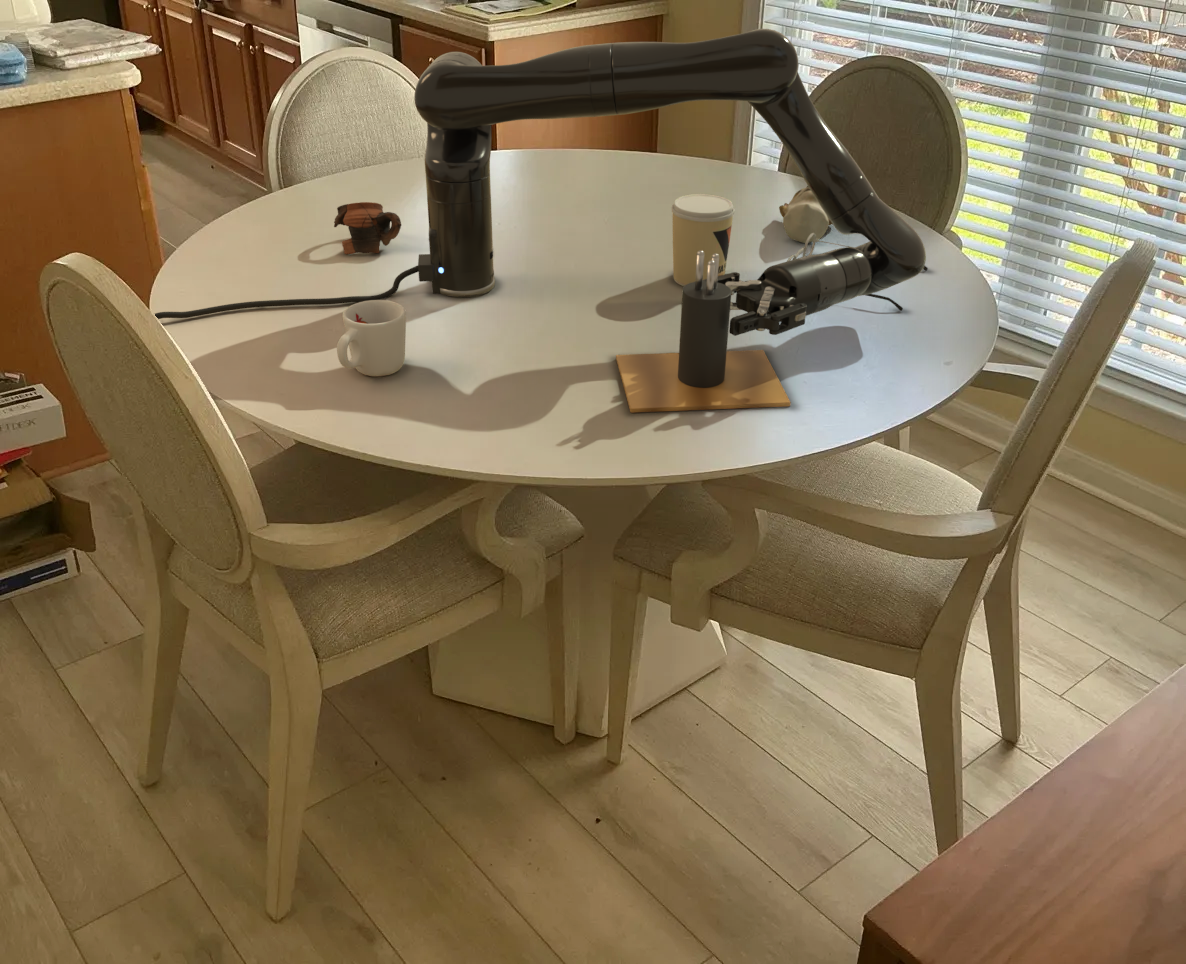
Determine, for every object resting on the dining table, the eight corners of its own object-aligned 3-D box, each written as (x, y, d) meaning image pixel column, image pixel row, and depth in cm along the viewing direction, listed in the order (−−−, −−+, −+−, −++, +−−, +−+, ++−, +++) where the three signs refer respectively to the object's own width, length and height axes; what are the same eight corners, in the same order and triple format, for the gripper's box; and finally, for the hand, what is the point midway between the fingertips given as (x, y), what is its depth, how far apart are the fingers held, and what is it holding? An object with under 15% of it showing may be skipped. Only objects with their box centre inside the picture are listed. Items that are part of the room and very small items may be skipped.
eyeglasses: (811, 250, 189) (814, 227, 187) (926, 273, 182) (931, 249, 180) (777, 289, 175) (780, 264, 173) (901, 315, 169) (906, 289, 166)
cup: (367, 396, 144) (361, 338, 140) (320, 380, 148) (313, 323, 144) (422, 364, 152) (418, 308, 148) (376, 349, 156) (371, 294, 151)
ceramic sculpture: (775, 191, 186) (785, 170, 199) (769, 243, 191) (779, 219, 203) (841, 198, 184) (847, 176, 197) (834, 251, 188) (840, 226, 201)
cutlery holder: (681, 388, 146) (689, 261, 137) (674, 367, 151) (680, 243, 142) (728, 387, 146) (739, 260, 137) (719, 366, 151) (729, 242, 142)
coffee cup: (725, 293, 173) (731, 216, 167) (663, 288, 175) (667, 211, 169) (732, 270, 181) (737, 195, 175) (672, 265, 183) (676, 191, 176)
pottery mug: (325, 257, 185) (320, 206, 185) (356, 264, 194) (351, 215, 194) (391, 246, 181) (386, 193, 181) (420, 253, 190) (415, 203, 190)
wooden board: (630, 412, 142) (630, 408, 141) (615, 358, 154) (616, 354, 154) (790, 406, 143) (790, 402, 143) (762, 353, 156) (763, 349, 156)
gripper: (767, 243, 155) (674, 269, 147) (845, 277, 146) (750, 306, 137) (763, 295, 159) (671, 323, 151) (838, 331, 150) (745, 363, 141)
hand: (709, 315), depth 144 cm, fingers open, 8 cm apart
